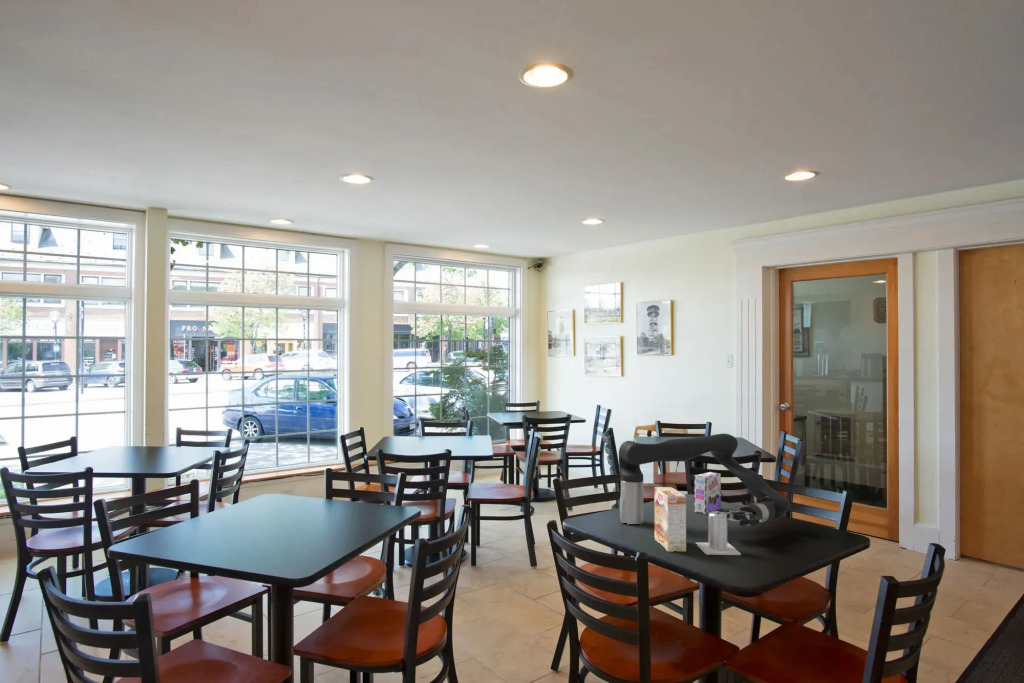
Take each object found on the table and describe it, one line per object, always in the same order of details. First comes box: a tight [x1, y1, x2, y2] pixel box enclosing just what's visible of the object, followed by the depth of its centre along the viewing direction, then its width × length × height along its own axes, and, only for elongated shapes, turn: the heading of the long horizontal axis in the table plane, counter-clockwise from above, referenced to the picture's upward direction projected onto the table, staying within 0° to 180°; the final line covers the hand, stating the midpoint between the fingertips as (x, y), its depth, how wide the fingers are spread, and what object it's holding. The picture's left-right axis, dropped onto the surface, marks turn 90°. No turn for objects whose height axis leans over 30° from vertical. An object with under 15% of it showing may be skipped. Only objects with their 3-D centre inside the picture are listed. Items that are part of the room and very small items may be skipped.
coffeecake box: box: [653, 486, 687, 553], centre depth 213 cm, size 15×7×20 cm, turn 4°
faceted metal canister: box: [707, 510, 728, 551], centre depth 209 cm, size 6×6×13 cm
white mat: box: [695, 541, 742, 556], centre depth 209 cm, size 12×12×1 cm
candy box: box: [693, 471, 722, 515], centre depth 264 cm, size 14×6×16 cm, turn 132°
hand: (729, 520), depth 214 cm, fingers open, 8 cm apart
